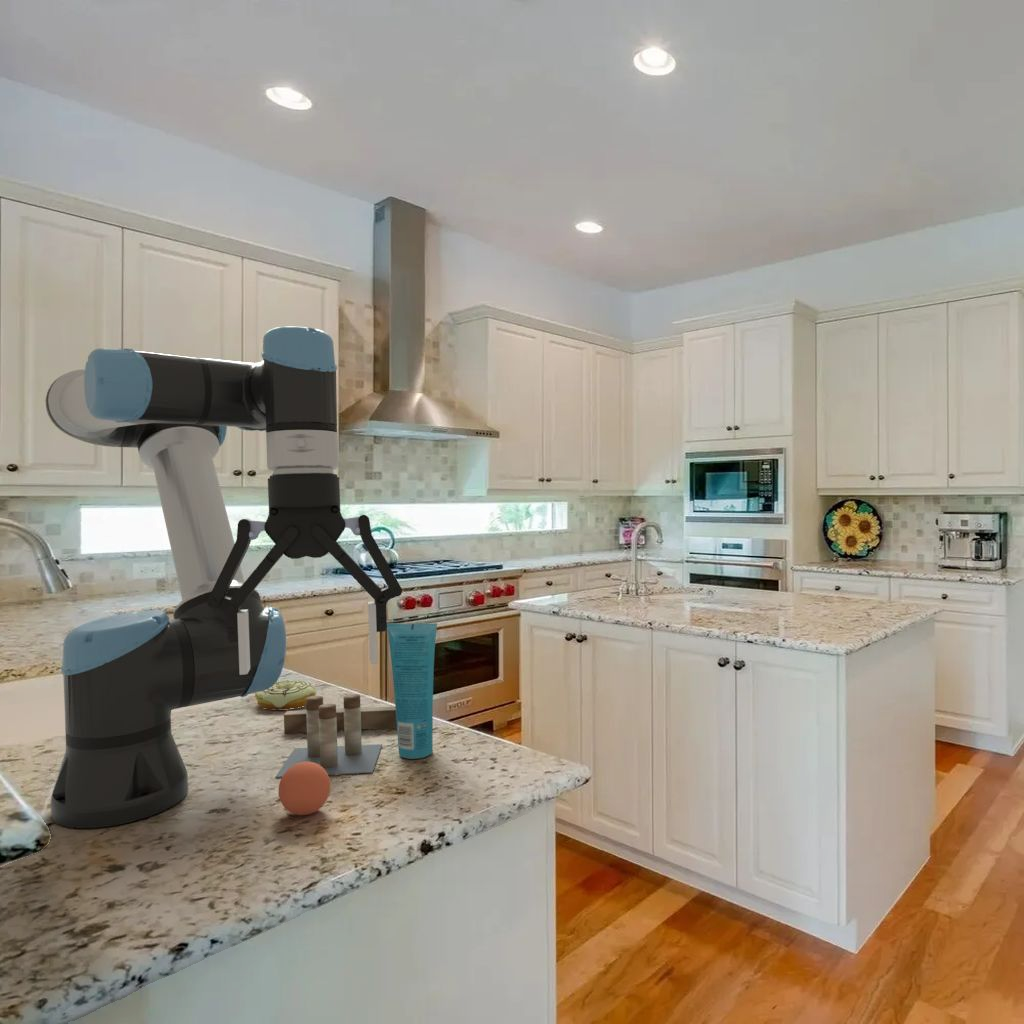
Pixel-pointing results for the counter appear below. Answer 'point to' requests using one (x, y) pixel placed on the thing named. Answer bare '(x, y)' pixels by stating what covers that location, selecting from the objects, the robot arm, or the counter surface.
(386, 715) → the back rail
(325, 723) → the front pin
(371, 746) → the plate
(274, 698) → the decorated donut
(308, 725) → the peg
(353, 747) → the rear pin left
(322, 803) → the ball
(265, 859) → the counter surface
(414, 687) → the tube
